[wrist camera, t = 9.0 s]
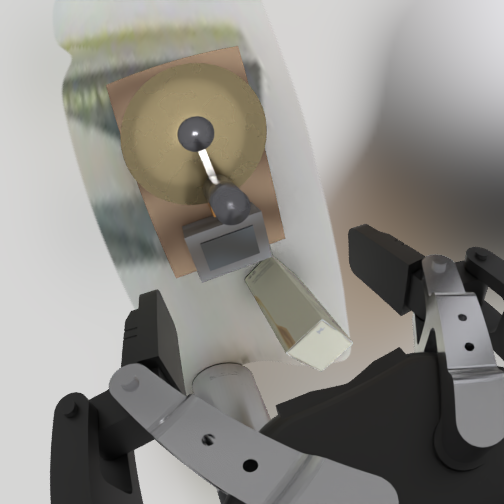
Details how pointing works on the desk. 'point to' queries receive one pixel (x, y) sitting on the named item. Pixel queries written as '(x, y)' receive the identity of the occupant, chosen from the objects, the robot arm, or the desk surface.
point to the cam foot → (195, 138)
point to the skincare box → (296, 315)
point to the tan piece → (202, 216)
